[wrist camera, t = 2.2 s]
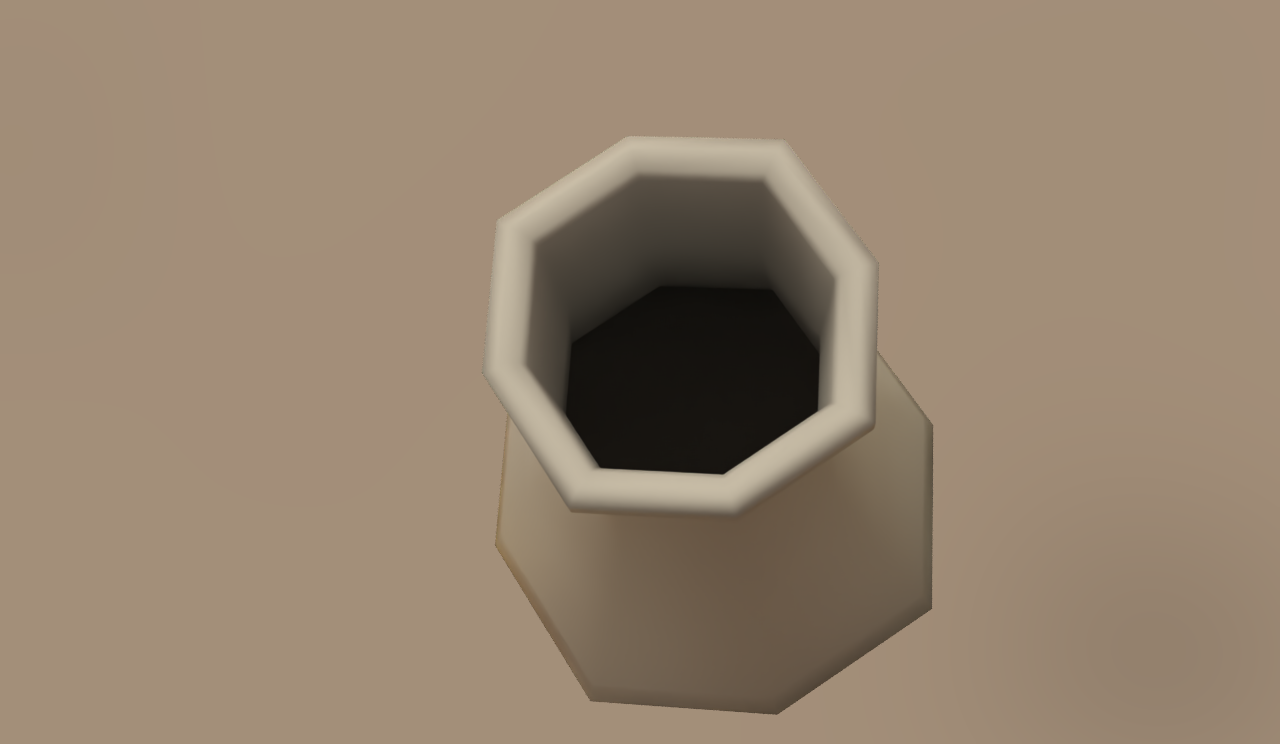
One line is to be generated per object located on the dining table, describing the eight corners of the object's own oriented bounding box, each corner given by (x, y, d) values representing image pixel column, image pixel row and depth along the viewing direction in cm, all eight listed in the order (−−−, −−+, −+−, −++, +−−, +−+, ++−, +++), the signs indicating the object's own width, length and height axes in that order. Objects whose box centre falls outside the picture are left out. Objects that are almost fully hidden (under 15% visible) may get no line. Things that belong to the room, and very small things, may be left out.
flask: (550, 774, 18) (316, 931, 8) (451, 340, 20) (161, 40, 10) (1004, 651, 18) (1325, 663, 8) (862, 225, 19) (980, -196, 10)
